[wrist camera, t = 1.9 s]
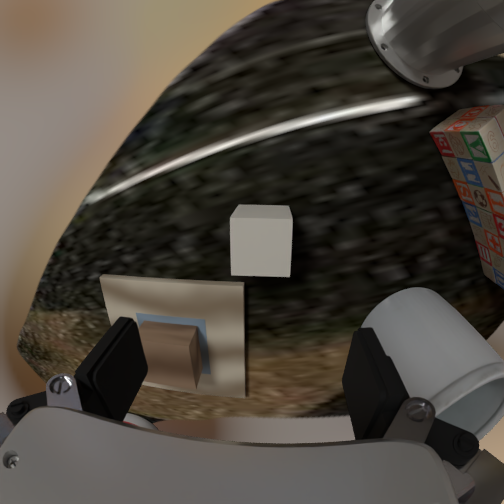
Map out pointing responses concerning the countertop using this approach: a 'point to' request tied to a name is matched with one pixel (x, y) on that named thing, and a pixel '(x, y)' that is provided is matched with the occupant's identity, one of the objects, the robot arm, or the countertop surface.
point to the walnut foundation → (171, 354)
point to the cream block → (261, 240)
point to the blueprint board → (190, 322)
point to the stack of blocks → (478, 177)
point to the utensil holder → (441, 358)
